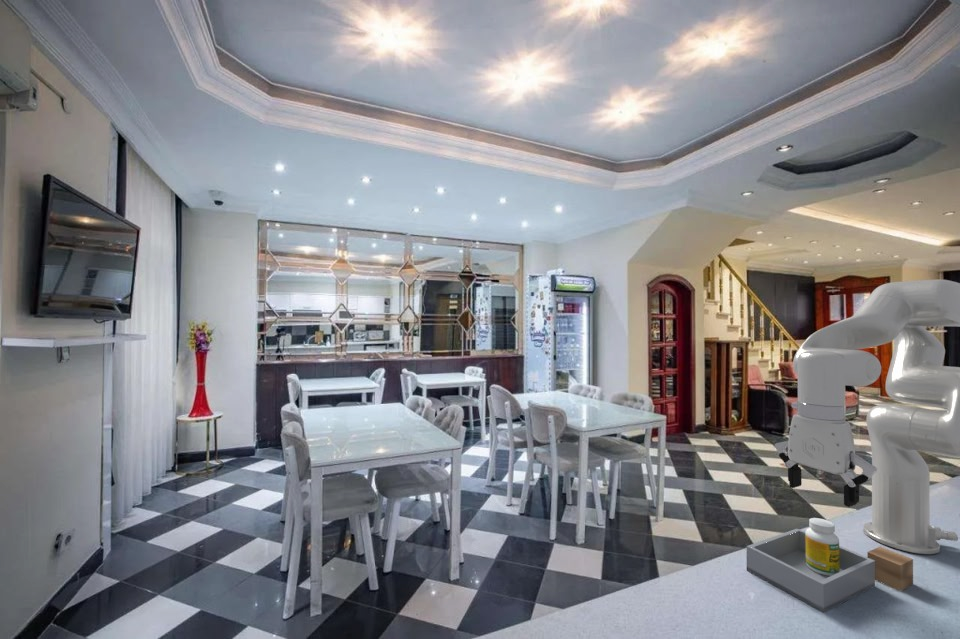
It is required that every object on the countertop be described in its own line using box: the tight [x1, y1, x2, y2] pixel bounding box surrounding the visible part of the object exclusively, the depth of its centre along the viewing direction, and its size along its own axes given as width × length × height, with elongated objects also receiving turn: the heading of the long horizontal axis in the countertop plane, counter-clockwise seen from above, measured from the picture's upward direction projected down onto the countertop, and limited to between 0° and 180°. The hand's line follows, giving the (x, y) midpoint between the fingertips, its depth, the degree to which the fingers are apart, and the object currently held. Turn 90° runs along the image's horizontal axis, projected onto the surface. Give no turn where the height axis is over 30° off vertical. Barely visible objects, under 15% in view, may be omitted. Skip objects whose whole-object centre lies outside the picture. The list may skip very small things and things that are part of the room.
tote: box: [746, 528, 876, 614], centre depth 83 cm, size 18×14×5 cm
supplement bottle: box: [805, 517, 840, 576], centre depth 85 cm, size 5×5×10 cm
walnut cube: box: [866, 546, 914, 592], centre depth 82 cm, size 5×5×5 cm
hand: (821, 495), depth 85 cm, fingers open, 9 cm apart
